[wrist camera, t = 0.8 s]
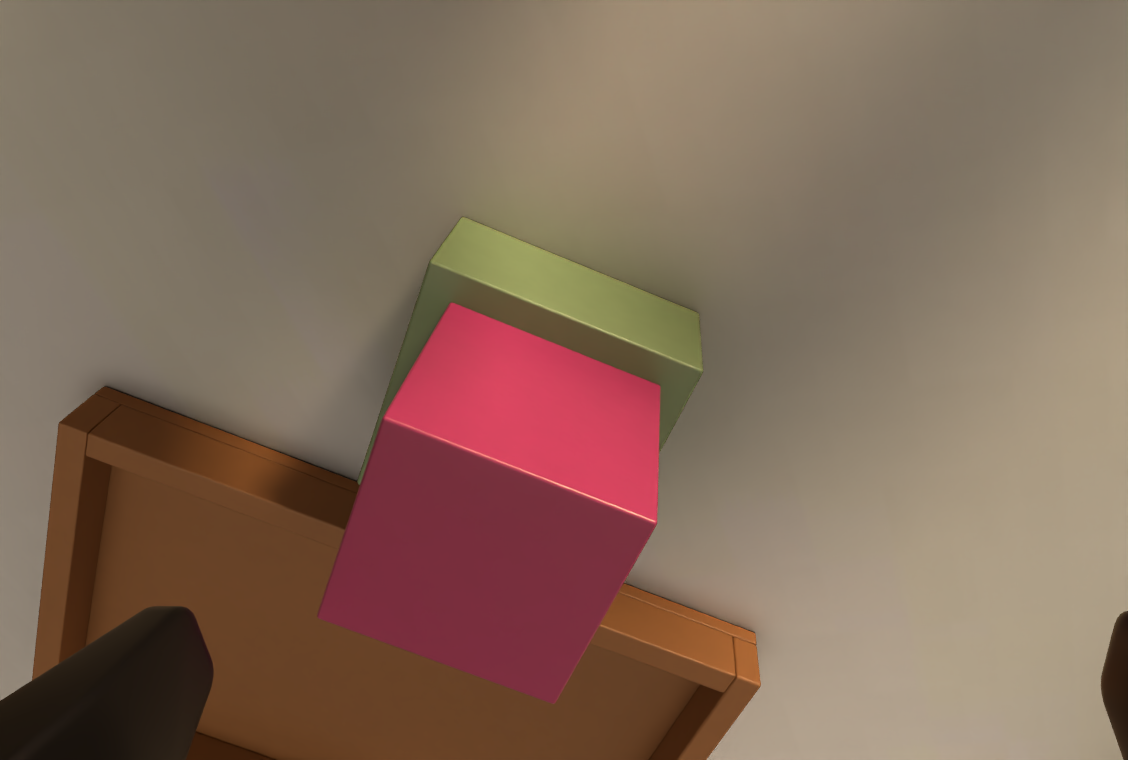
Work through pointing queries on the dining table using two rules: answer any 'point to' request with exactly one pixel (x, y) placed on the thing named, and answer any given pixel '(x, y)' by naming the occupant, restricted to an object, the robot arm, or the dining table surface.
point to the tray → (324, 650)
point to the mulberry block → (499, 505)
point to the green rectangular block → (555, 313)
